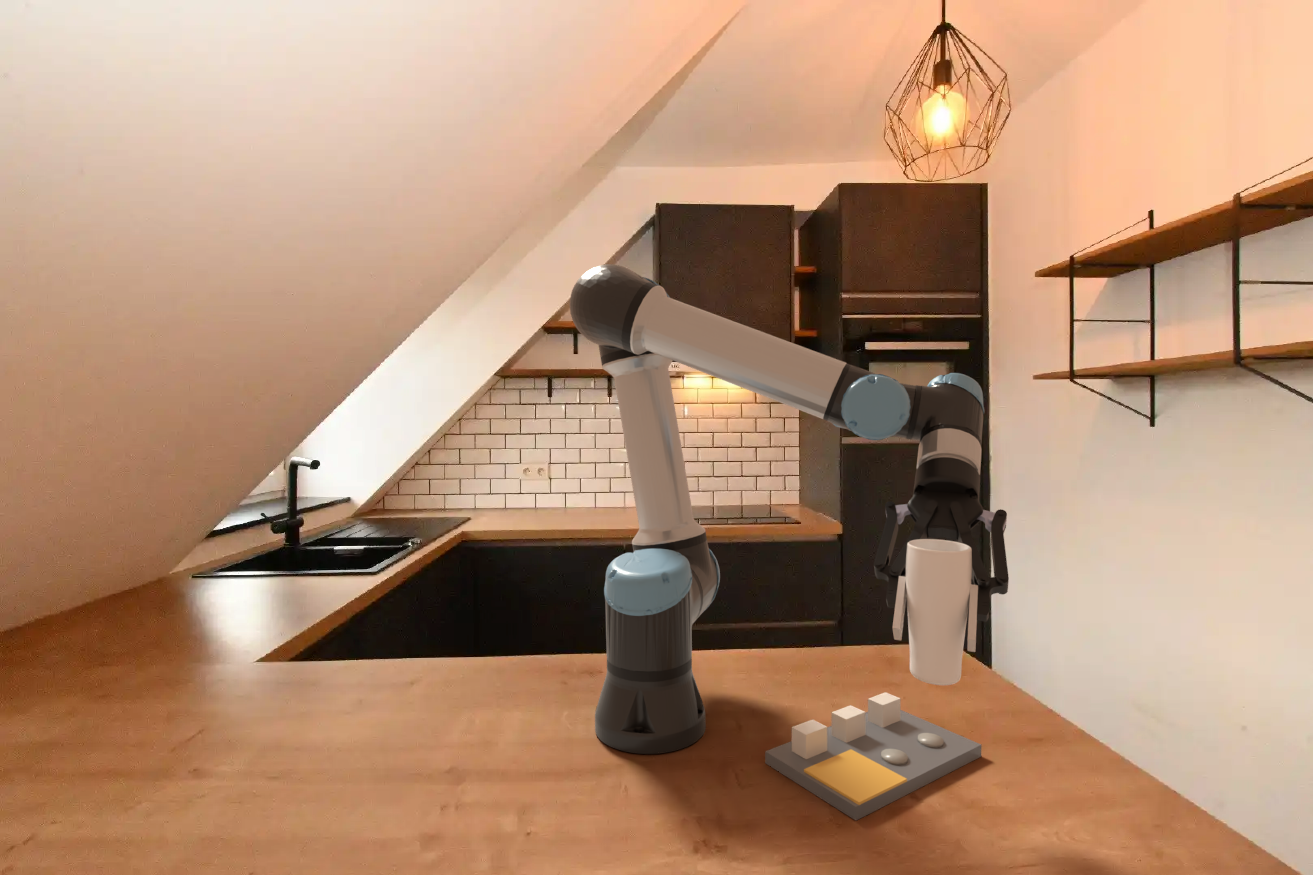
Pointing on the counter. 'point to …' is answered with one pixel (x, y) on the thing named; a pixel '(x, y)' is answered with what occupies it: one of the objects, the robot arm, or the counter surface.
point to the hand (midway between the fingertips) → (933, 639)
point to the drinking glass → (937, 607)
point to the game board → (870, 755)
